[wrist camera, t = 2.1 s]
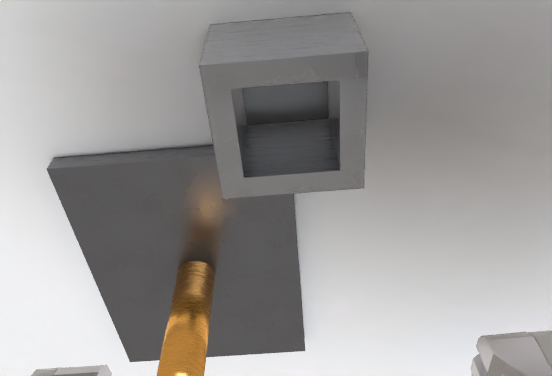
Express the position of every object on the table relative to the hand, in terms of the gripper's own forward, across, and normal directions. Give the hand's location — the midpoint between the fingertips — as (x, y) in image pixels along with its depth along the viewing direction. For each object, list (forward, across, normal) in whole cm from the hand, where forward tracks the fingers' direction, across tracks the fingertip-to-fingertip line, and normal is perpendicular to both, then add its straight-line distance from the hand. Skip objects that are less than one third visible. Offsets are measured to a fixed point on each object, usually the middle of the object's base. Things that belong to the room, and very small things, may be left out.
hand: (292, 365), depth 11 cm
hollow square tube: (+15, 0, 0) cm, 15 cm away
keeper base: (+15, +6, +11) cm, 19 cm away
